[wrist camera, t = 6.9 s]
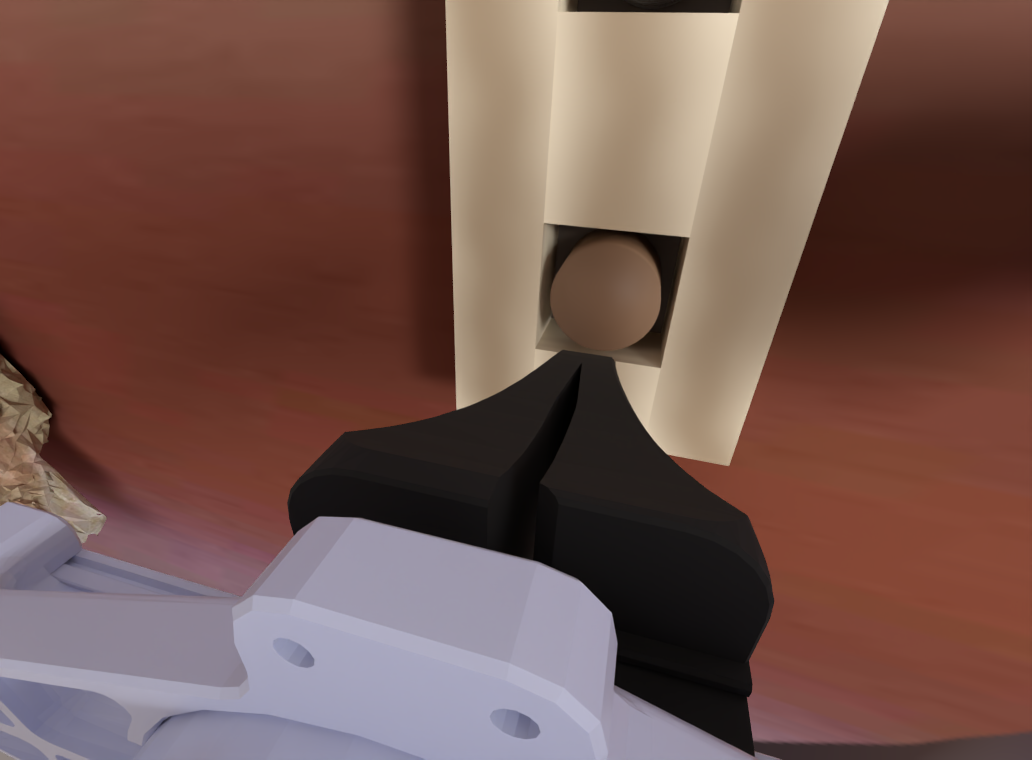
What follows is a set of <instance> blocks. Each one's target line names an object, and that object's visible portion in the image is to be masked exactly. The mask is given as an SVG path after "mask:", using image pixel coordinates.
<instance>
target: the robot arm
mask: <svg viewBox="0 0 1032 760" xmlns="http://www.w3.org/2000/svg"><path fill="white" fill-rule="evenodd" d="M287 503H288V511H289V519H290V523H291V527H292V530H293V534H294V537H293V538H292V539H291V540H290V541H289V542H288V543H287V545H286V546H285V547H284V548H283V549H282V550H281V552H280V553H279V554H278V555H277V556H276V557H275V559H274V560H273V561H272V562H271V563H270V564H269V566H268V567H267V568H266V569H265V570H264V571H263V573H262V574H261V575H260V576H259V577H258V578H257V580H256V581H255V582H254V583H253V584H252V585H251V586H250V588H249V589H248V590H247V591H246V592H245V593H244V595H243V596H242V597H241V596H238V595H234V594H231V593H228V592H225V591H221V590H218V589H215V588H211V587H208V586H205V585H201V584H198V583H195V582H191V581H188V580H185V579H181V578H178V577H175V576H171V575H168V574H165V573H162V572H158V571H155V570H152V569H148V568H145V567H142V566H138V565H135V564H132V563H128V562H125V561H122V560H118V559H115V558H112V557H108V556H105V555H102V554H99V553H95V552H92V551H89V550H85V549H82V543H81V541H80V539H79V537H78V535H77V533H76V532H75V530H74V529H73V528H72V526H71V525H70V524H69V523H68V522H67V521H65V520H64V519H63V518H61V517H60V516H58V515H56V514H53V513H50V512H47V511H43V510H40V509H36V508H33V507H29V506H26V505H22V504H19V503H15V502H6V503H5V504H3V505H1V506H0V751H1V752H2V753H4V754H6V755H8V756H10V757H12V758H14V759H16V760H781V759H778V758H775V757H772V756H768V755H765V754H762V753H758V752H755V751H754V746H753V738H752V731H751V724H750V717H749V710H748V703H747V697H749V696H750V694H751V692H752V679H751V672H750V666H749V659H750V657H751V655H752V653H753V651H754V649H755V647H756V645H757V643H758V641H759V639H760V637H761V635H762V633H763V631H764V629H765V627H766V625H767V623H768V621H769V619H770V616H771V612H772V608H773V605H774V597H773V592H772V584H771V579H770V574H769V571H768V567H767V563H766V560H765V558H764V555H763V552H762V550H761V547H760V545H759V542H758V539H757V537H756V535H755V532H754V530H753V527H752V525H751V522H750V520H749V518H748V516H747V515H746V514H744V513H743V512H741V511H740V510H738V509H737V508H735V507H734V506H732V505H730V504H729V503H727V502H726V501H724V500H723V499H721V498H720V497H718V496H717V495H715V494H714V493H712V492H711V491H709V490H708V489H706V488H705V487H704V486H703V485H701V484H700V483H699V482H698V481H696V480H695V479H694V478H692V477H691V476H690V475H689V474H687V473H686V472H685V471H684V470H683V469H682V468H681V467H680V466H678V465H677V464H676V463H675V462H674V461H673V460H672V459H671V458H670V457H669V456H668V455H667V454H666V453H665V452H664V451H663V450H662V449H661V448H660V447H659V446H658V444H657V443H656V442H655V441H654V440H653V438H652V437H651V436H650V435H649V433H648V432H647V431H646V429H645V428H644V426H643V425H642V423H641V422H640V420H639V418H638V417H637V415H636V413H635V412H634V410H633V408H632V406H631V404H630V403H629V401H628V398H627V396H626V394H625V392H624V390H623V388H622V385H621V383H620V380H619V377H618V374H617V370H616V362H615V361H614V359H613V358H612V357H608V356H601V355H595V354H588V353H581V352H575V351H568V350H561V351H560V352H558V353H557V354H555V355H554V356H553V357H551V358H550V359H549V360H547V361H546V362H545V363H543V364H542V365H541V366H539V367H538V368H537V369H535V370H534V371H532V372H531V373H530V374H528V375H527V376H525V377H524V378H522V379H521V380H519V381H517V382H516V383H514V384H512V385H511V386H509V387H507V388H506V389H504V390H502V391H500V392H498V393H496V394H494V395H492V396H490V397H488V398H486V399H484V400H481V401H479V402H477V403H475V404H472V405H470V406H467V407H464V408H461V409H458V410H455V411H452V412H449V413H446V414H443V415H440V416H437V417H433V418H429V419H425V420H421V421H417V422H412V423H407V424H402V425H397V426H391V427H384V428H376V429H368V430H360V431H351V432H345V433H344V434H343V435H341V436H340V437H339V438H338V439H337V440H336V441H335V442H334V443H333V444H332V445H331V446H330V447H329V448H328V449H327V450H326V451H325V452H324V453H323V454H322V455H321V456H320V457H319V458H318V459H317V460H316V461H315V462H314V464H313V465H312V466H311V467H310V468H309V469H308V470H307V471H306V472H305V473H304V474H303V475H302V476H301V477H300V478H299V479H298V480H297V482H296V483H295V484H294V485H293V487H292V488H291V490H290V494H289V498H288V502H287Z"/></svg>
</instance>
